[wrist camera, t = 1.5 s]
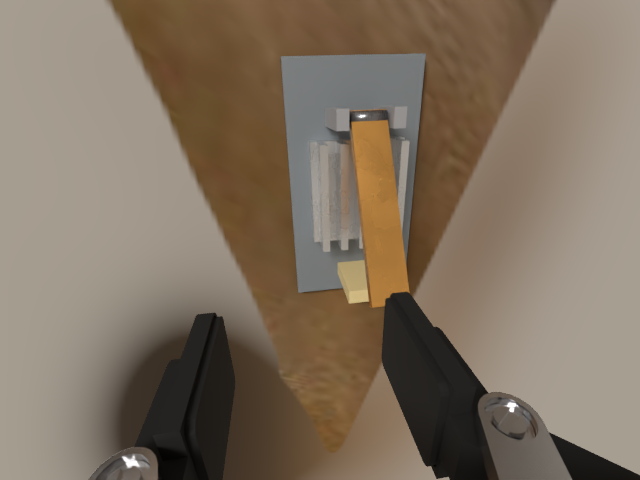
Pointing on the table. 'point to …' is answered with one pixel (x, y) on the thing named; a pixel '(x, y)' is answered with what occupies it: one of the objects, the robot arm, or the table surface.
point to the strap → (377, 205)
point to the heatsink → (344, 189)
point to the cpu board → (333, 123)
